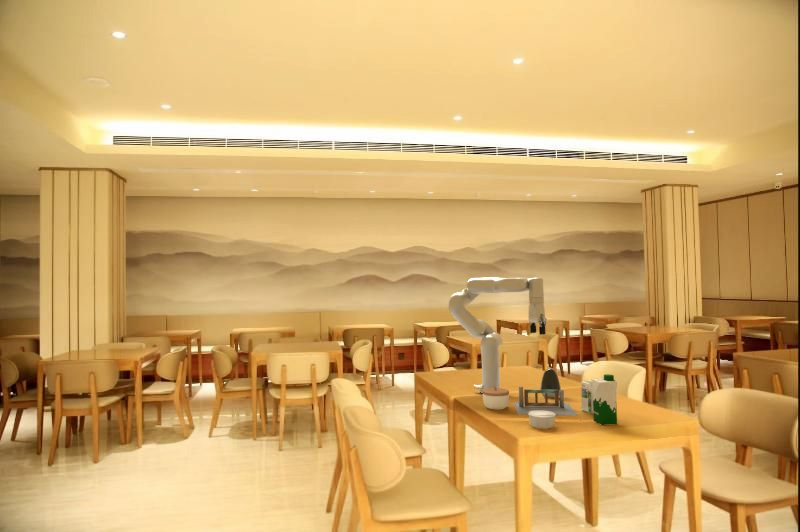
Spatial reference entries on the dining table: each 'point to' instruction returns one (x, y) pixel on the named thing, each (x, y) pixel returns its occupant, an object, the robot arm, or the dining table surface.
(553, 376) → the dark grey rounded block
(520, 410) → the gate base
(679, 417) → the dining table surface
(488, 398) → the lidded bowl
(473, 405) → the dining table surface
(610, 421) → the milk carton
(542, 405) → the gate leaf
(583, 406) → the syrup box
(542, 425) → the ramekin
